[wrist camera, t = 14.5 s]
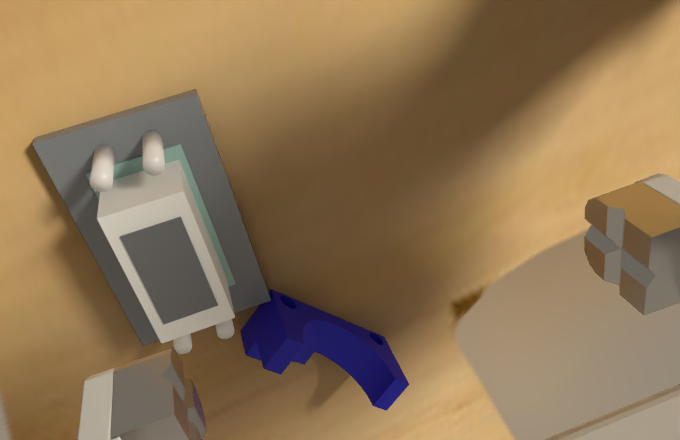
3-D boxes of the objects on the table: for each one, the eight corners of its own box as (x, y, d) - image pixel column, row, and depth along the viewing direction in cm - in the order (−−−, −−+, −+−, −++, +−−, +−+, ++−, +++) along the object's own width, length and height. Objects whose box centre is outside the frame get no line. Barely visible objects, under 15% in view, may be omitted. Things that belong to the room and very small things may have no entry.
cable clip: (240, 330, 48) (252, 383, 43) (271, 288, 47) (287, 337, 42) (353, 372, 54) (375, 423, 49) (383, 335, 53) (409, 384, 48)
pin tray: (195, 89, 37) (202, 116, 33) (268, 292, 47) (281, 334, 43) (34, 137, 36) (21, 172, 32) (142, 337, 45) (143, 384, 41)
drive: (179, 159, 38) (183, 191, 34) (226, 279, 44) (235, 318, 40) (100, 183, 37) (96, 219, 34) (159, 302, 43) (161, 344, 39)
